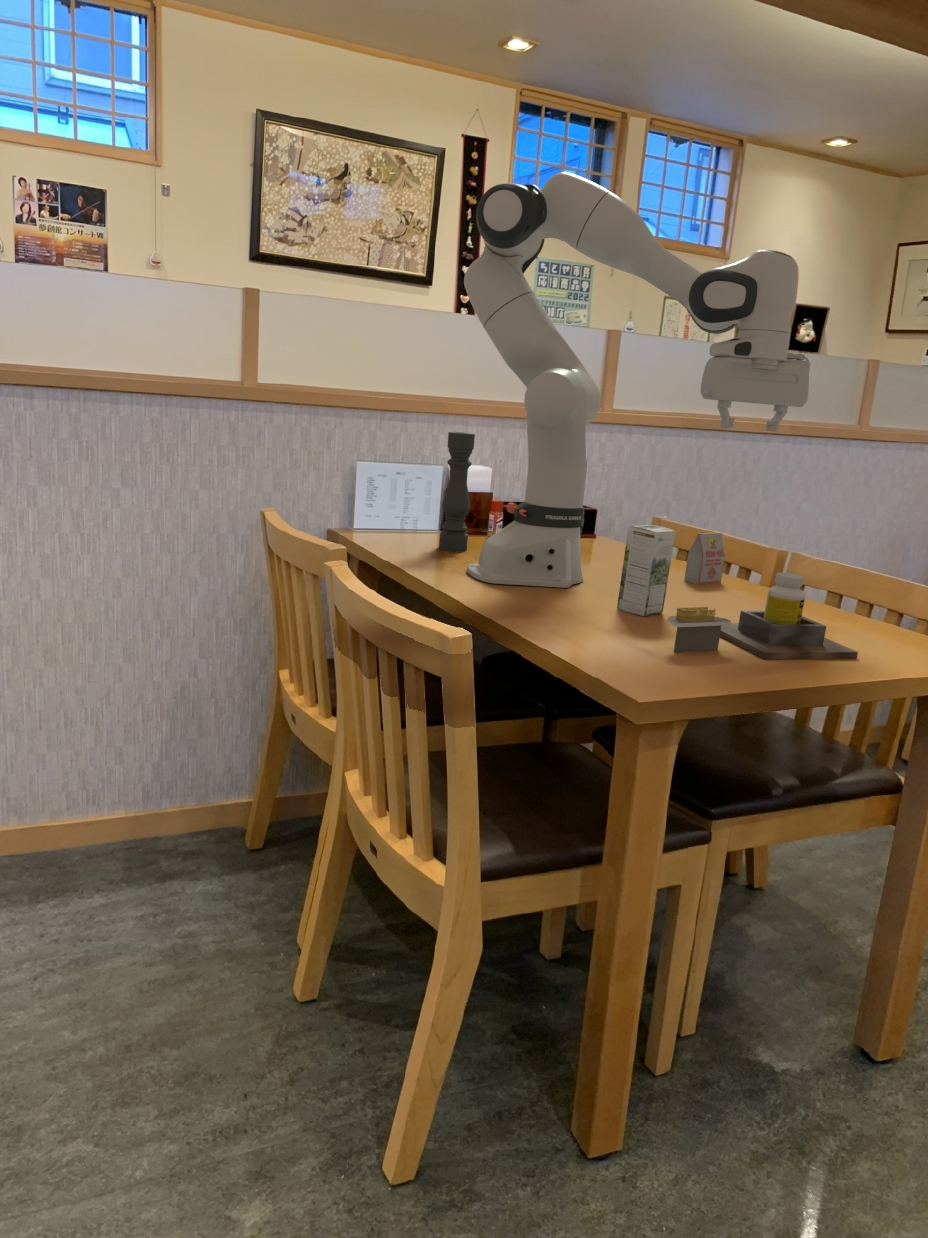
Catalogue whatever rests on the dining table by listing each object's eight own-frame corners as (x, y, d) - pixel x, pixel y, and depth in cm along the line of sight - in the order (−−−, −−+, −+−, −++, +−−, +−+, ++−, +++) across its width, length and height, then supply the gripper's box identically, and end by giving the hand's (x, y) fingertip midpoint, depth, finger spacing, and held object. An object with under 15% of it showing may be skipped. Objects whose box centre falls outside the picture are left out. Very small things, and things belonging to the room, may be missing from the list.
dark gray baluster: (437, 545, 199) (446, 431, 193) (465, 547, 200) (474, 433, 194) (440, 550, 193) (448, 432, 187) (468, 552, 194) (478, 434, 188)
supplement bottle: (800, 643, 135) (811, 580, 133) (762, 639, 136) (773, 576, 134) (794, 634, 140) (805, 573, 138) (758, 630, 141) (769, 569, 139)
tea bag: (684, 580, 183) (691, 531, 180) (707, 578, 186) (714, 531, 184) (697, 584, 180) (705, 535, 177) (720, 582, 183) (728, 534, 181)
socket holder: (764, 659, 129) (769, 632, 128) (705, 629, 144) (709, 604, 142) (856, 658, 133) (861, 632, 132) (790, 629, 148) (794, 605, 147)
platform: (617, 643, 133) (623, 600, 131) (713, 638, 140) (719, 597, 139) (666, 668, 122) (673, 621, 121) (767, 661, 130) (775, 617, 128)
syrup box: (635, 606, 156) (646, 523, 152) (664, 613, 152) (676, 529, 148) (616, 609, 152) (626, 524, 148) (645, 617, 148) (656, 530, 144)
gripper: (800, 354, 164) (787, 432, 167) (702, 344, 158) (690, 424, 161) (822, 354, 158) (809, 434, 161) (721, 343, 152) (709, 426, 155)
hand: (749, 429), depth 161 cm, fingers open, 8 cm apart
